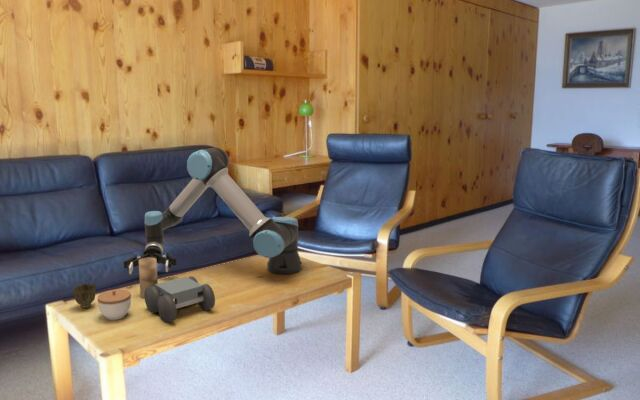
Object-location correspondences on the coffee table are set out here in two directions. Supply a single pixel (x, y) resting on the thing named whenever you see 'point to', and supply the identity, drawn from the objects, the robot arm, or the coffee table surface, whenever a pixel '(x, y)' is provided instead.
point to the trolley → (178, 296)
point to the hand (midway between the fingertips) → (148, 269)
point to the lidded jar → (114, 303)
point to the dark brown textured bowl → (84, 294)
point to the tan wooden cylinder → (147, 273)
